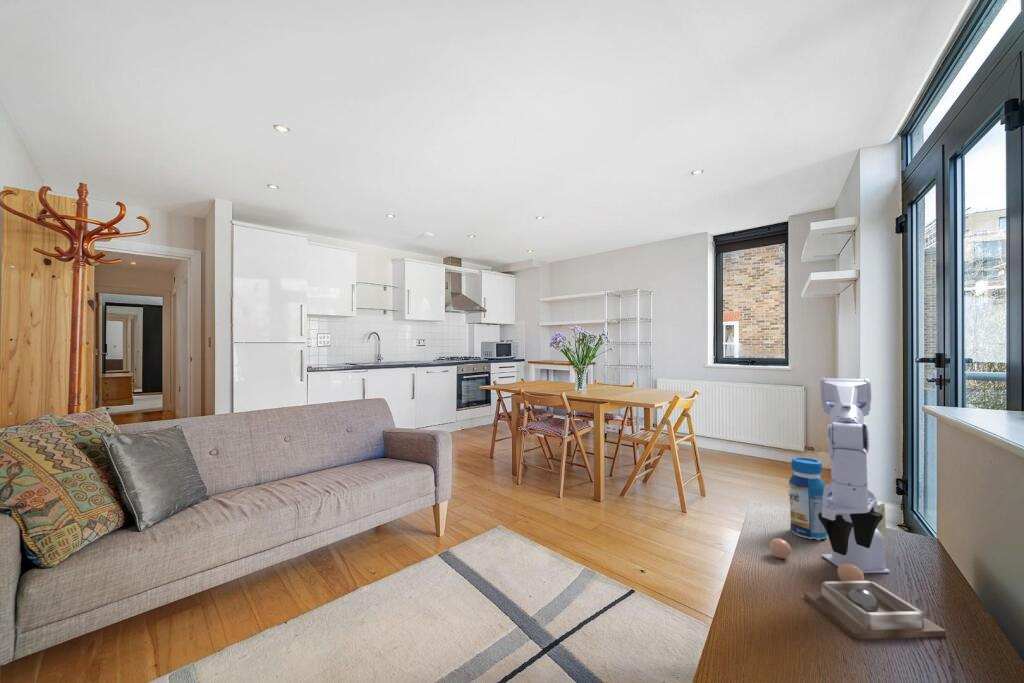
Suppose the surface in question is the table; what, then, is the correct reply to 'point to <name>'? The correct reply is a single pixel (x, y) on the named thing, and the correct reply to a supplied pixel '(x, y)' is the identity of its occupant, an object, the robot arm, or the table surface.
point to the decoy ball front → (780, 548)
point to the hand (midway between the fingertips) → (851, 549)
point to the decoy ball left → (850, 572)
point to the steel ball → (863, 599)
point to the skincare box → (882, 522)
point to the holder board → (885, 623)
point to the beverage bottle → (806, 498)
